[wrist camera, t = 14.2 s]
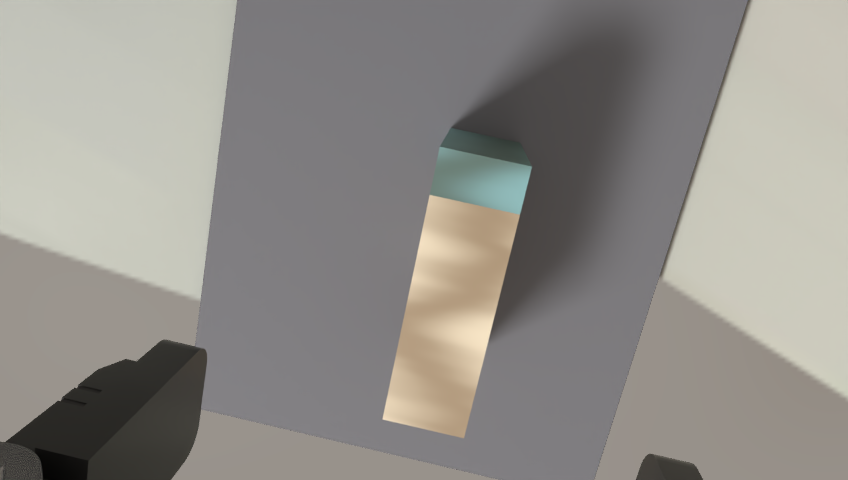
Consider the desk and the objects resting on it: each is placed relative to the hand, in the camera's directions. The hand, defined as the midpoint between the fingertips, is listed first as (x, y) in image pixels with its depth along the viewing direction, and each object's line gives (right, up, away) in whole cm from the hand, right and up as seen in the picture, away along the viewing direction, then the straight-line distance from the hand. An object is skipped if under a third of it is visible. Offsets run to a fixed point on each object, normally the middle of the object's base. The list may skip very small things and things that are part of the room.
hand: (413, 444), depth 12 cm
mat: (+1, +6, +17) cm, 18 cm away
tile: (0, -2, +15) cm, 15 cm away
